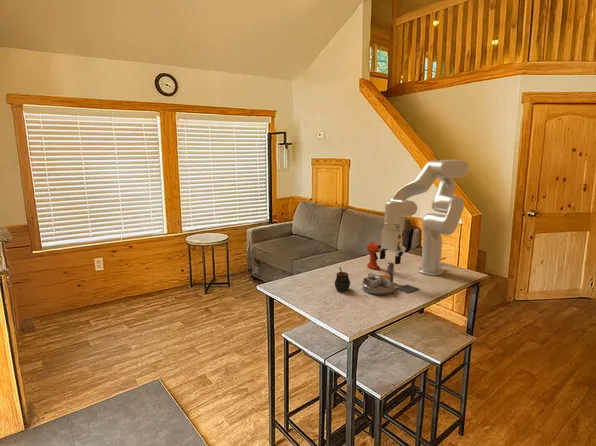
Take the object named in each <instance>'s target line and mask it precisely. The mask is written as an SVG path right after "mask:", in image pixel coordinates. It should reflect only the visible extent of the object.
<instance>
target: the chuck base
mask: <svg viewBox="0 0 596 446" xmlns="http://www.w3.org/2000/svg"><path fill="white" fill-rule="evenodd" d="M361 288H362V291H363V292H364V293H366V294H368V295H372V296H381V297H383V296H391V295H393V294H394V293H395V292H396V283H395V282H394V280H393V281H391V283H390V287H385V286H383V285H380V286H377V287H373V288H372V287H370V286H367V285H365V284H364V280H363V281H362V287H361Z"/></svg>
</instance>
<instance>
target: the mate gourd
mask: <svg viewBox="0 0 596 446" xmlns="http://www.w3.org/2000/svg"><path fill="white" fill-rule="evenodd" d="M338 268H339V270H340V271H338V272H336V274H335V275H336V279H335V281H334V286H335V289H336V290H337V291H338V292H346V291H348V290H349V289H350V287H351V280H350V278H349V273H348V272H346V271H342V268H341V266H340V267H338Z"/></svg>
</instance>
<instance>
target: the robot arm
mask: <svg viewBox="0 0 596 446" xmlns="http://www.w3.org/2000/svg"><path fill="white" fill-rule="evenodd" d="M468 172H469V164H468V163H467V161H466V160H463V159H440V160H433V159H432V160H429V161H427V162H426V163H424V166H423V167H422V168H421V170H420V171H419V172H418V174H417V175H416V177H415V178H414V179H413V180H412V181H410V182H409V183H407V184H406V185H404V186H402V187H401V188H400V189H398V190H397V191H396V192H395V193H394V194H393V196H392V197H391V198H390V200H388V201H386V202H385V205H384V206H385V207H384V222H383V228H382V231H381V238H380V240H377V241H376V244H378V248H379V251H380V252H379V260H385V259H386V251H391V252H394V253H395V256H394V258H395V259H394V265H400V264H401V261H402V260H401V259H402V257H403V255H404V254H405V251H406V250H407V248H406V247H405V246H404V245H403V232H402V226H401V222H402V217H412V216H414V215H416V214H417V212H418V206H417V203H416V202H415V201H413V200H408V199H410V198H411V197H414V196H417V195H418V196H419V195H422V194H424V193H427V192H428V191H429V190H430V188H431V187H432V185H433V184H434V182H435V181H436V180H437V179H438V187H437V189H436V191H435V194H434V197H433V199H432V202H431V209H432V210H433V211H435V212H437V213H432V212H430V213H426V214H425V215H424V216H423V217H422V220H421V227H422V247H421V248H422V249H421V250H422V253H421V264H420V265H421V266H419V267H418V268H417V270H418V272H419V273H420V274H421V275H427V276H441V275H443V274H444V270H443V269H442V267H444V266H446V263H445V262H442V261H441V260H442V249H443V237H442V235H446V236H447V235H448V236H449V235H452V234H454V233H455V231H456V229H457V228H458V225H459V222H460V220H461V217H462V214H463V211H464V207H465V204H464V203H465V202H464V200H463V198H462V197H461V196H459V195H454V194H455V192H456V191H455V190H456V183H455V180H454V179H458V178H459V179H460V178H463V177H465V176H466V175H467V174H468ZM441 213H443V214H441ZM385 249H387V250H386V251H384V250H385Z"/></svg>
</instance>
